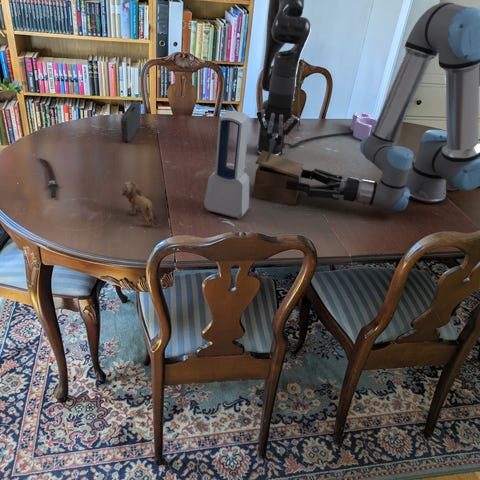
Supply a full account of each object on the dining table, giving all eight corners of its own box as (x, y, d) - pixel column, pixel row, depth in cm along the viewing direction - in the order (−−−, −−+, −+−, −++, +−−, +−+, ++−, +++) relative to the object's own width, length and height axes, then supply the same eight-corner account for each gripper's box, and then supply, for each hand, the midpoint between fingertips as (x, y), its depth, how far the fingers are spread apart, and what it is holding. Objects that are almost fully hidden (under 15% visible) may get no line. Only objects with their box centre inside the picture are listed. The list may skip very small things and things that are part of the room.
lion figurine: (118, 210, 138) (116, 182, 133) (132, 204, 141) (131, 177, 137) (151, 229, 130) (150, 201, 126) (165, 223, 134) (165, 195, 129)
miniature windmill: (298, 130, 211) (309, 61, 195) (279, 127, 212) (289, 59, 196) (300, 124, 219) (311, 57, 203) (282, 121, 220) (292, 55, 204)
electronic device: (248, 210, 145) (259, 115, 129) (241, 221, 139) (251, 123, 123) (211, 201, 148) (218, 107, 132) (202, 211, 142) (207, 114, 125)
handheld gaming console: (134, 123, 200) (133, 100, 195) (140, 124, 200) (140, 100, 195) (121, 142, 181) (119, 117, 175) (128, 143, 181) (127, 118, 175)
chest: (252, 197, 153) (255, 170, 148) (259, 184, 161) (262, 159, 156) (294, 205, 151) (299, 178, 146) (298, 192, 159) (303, 166, 154)
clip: (343, 126, 223) (346, 112, 219) (367, 127, 225) (371, 113, 221) (360, 142, 206) (364, 127, 202) (386, 142, 209) (390, 127, 205)
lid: (255, 163, 147) (262, 137, 142) (261, 152, 155) (268, 127, 150) (298, 178, 146) (307, 153, 141) (303, 166, 154) (311, 142, 149)
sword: (61, 197, 141) (61, 193, 140) (50, 198, 139) (50, 194, 139) (49, 160, 164) (48, 156, 163) (39, 160, 163) (39, 157, 162)
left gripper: (256, 88, 136) (249, 144, 145) (303, 97, 134) (293, 153, 143) (261, 82, 142) (254, 136, 151) (306, 90, 140) (296, 145, 149)
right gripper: (353, 217, 141) (281, 203, 144) (356, 186, 160) (292, 174, 163) (359, 195, 137) (284, 181, 140) (361, 166, 155) (295, 154, 159)
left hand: (273, 144), depth 147 cm, fingers closed on lid, 2 cm apart
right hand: (288, 177), depth 152 cm, fingers closed on chest, 10 cm apart
